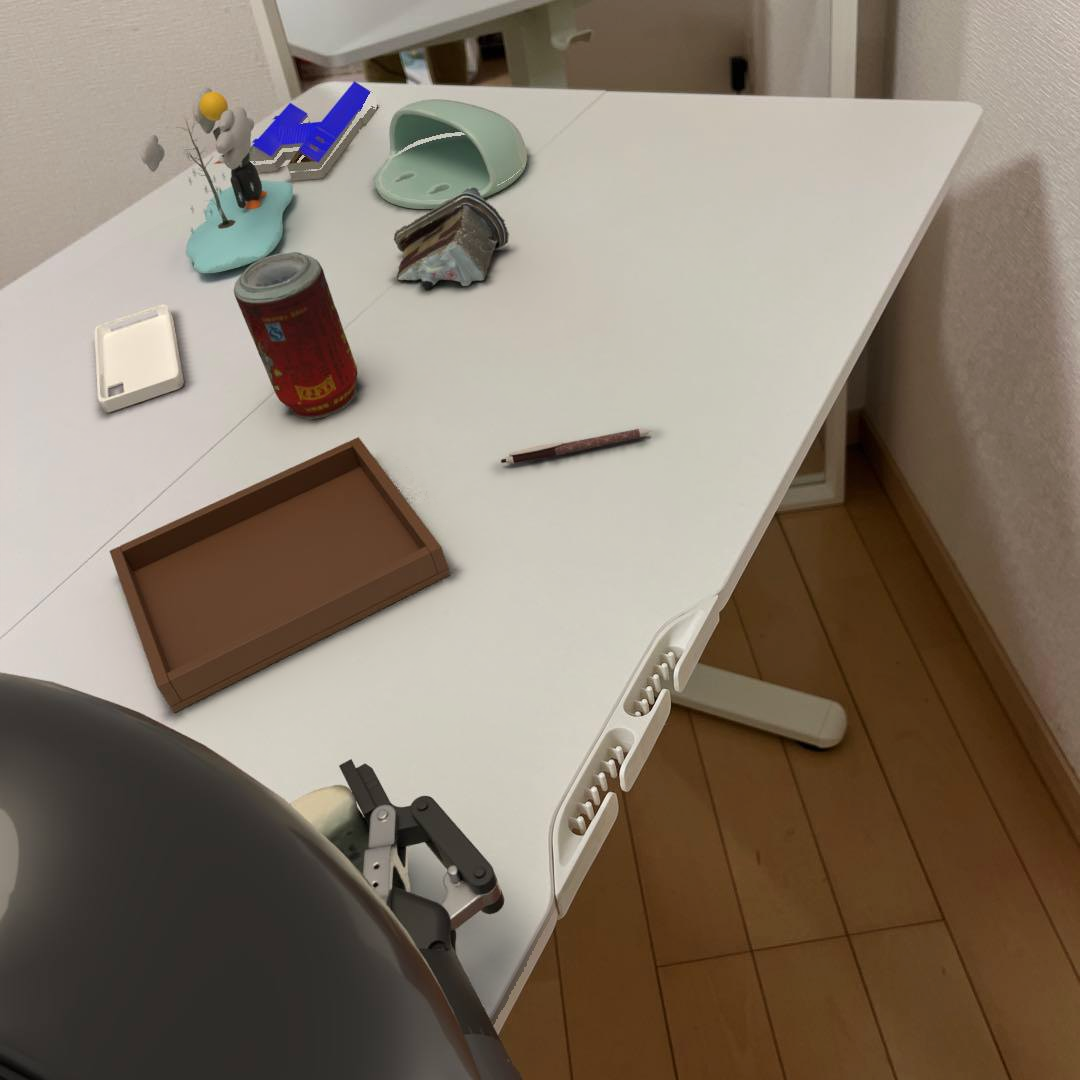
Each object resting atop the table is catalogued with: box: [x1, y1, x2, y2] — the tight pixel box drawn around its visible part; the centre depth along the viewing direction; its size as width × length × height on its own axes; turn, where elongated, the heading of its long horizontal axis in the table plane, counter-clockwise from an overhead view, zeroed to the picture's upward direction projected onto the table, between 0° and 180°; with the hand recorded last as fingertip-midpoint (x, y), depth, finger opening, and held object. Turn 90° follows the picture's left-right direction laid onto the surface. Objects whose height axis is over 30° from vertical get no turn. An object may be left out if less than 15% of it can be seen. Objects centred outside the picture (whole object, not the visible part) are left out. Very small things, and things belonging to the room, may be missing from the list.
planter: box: [373, 98, 528, 210], centre depth 120 cm, size 19×7×16 cm
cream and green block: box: [289, 784, 370, 874], centre depth 54 cm, size 6×5×8 cm
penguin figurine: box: [140, 86, 294, 274], centre depth 115 cm, size 20×11×15 cm, turn 179°
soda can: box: [233, 251, 358, 420], centre depth 89 cm, size 7×7×12 cm
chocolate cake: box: [393, 188, 510, 290], centre depth 104 cm, size 10×7×12 cm
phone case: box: [93, 303, 185, 413], centre depth 103 cm, size 7×1×15 cm
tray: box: [109, 436, 451, 714], centre depth 76 cm, size 20×16×3 cm
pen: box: [500, 428, 653, 465], centre depth 81 cm, size 11×1×1 cm, turn 96°
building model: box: [249, 80, 378, 182], centre depth 135 cm, size 20×11×4 cm, turn 168°
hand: (290, 804), depth 54 cm, fingers closed on cream and green block, 5 cm apart
